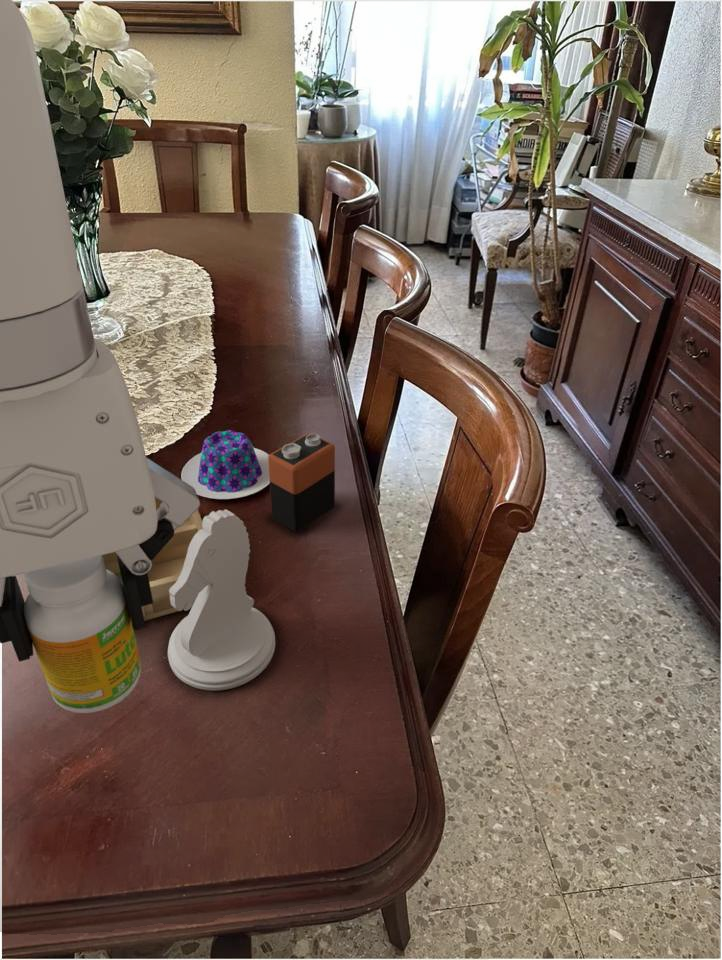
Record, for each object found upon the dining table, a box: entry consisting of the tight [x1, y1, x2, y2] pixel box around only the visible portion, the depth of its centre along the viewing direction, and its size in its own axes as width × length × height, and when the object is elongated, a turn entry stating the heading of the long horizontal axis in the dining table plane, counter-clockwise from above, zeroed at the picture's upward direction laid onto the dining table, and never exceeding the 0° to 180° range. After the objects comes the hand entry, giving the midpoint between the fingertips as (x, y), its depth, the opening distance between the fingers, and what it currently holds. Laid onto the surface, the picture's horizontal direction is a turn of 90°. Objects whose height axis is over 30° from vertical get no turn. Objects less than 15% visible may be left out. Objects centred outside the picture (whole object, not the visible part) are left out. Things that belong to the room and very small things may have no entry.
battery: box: [268, 432, 336, 533], centre depth 76 cm, size 4×7×10 cm, turn 140°
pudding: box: [180, 429, 270, 500], centre depth 83 cm, size 12×12×5 cm
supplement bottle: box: [23, 555, 142, 714], centre depth 39 cm, size 5×5×10 cm
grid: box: [103, 497, 203, 622], centre depth 69 cm, size 15×15×4 cm
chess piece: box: [167, 508, 276, 691], centre depth 57 cm, size 10×10×15 cm
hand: (81, 624), depth 39 cm, fingers closed on supplement bottle, 5 cm apart
